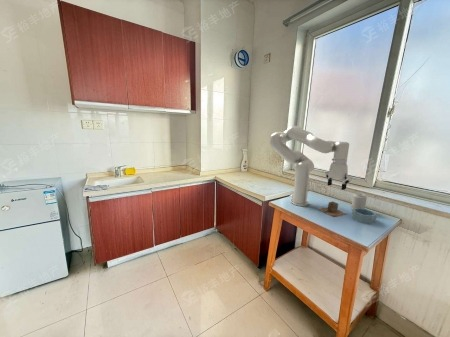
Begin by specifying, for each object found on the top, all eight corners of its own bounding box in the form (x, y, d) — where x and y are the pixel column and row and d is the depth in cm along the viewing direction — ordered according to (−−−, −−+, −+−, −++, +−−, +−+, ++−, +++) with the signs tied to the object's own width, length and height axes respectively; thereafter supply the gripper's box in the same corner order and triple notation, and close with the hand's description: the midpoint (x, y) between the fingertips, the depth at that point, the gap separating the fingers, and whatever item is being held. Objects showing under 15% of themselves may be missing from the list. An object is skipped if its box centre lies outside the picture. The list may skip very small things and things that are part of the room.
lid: (318, 210, 130) (319, 201, 129) (330, 207, 135) (331, 198, 133) (333, 217, 119) (335, 207, 118) (346, 214, 124) (348, 205, 122)
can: (348, 209, 131) (351, 192, 129) (354, 207, 135) (357, 191, 132) (360, 213, 125) (363, 196, 122) (366, 211, 128) (369, 194, 126)
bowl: (348, 217, 119) (349, 209, 118) (359, 214, 124) (360, 207, 123) (367, 225, 110) (368, 217, 109) (378, 221, 114) (379, 214, 113)
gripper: (323, 159, 126) (320, 184, 129) (349, 164, 110) (345, 192, 114) (331, 159, 129) (328, 183, 132) (357, 163, 113) (353, 190, 117)
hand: (336, 187), depth 123 cm, fingers open, 9 cm apart
